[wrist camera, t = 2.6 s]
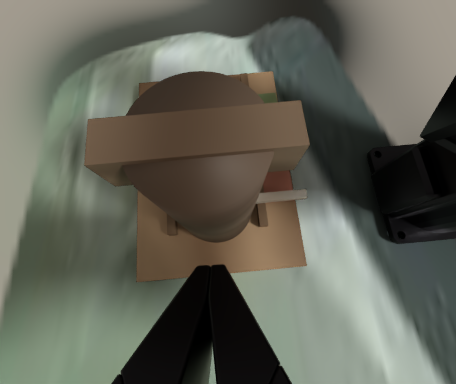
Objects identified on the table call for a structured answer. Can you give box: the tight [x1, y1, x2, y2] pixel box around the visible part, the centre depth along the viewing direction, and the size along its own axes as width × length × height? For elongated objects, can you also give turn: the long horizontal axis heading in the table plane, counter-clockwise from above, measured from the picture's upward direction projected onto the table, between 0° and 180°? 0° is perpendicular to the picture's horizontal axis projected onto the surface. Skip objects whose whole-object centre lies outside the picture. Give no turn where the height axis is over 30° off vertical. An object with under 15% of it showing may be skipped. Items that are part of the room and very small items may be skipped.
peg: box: [84, 71, 310, 243], centre depth 11 cm, size 8×4×9 cm, turn 95°
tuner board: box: [136, 72, 307, 282], centre depth 17 cm, size 10×14×2 cm
